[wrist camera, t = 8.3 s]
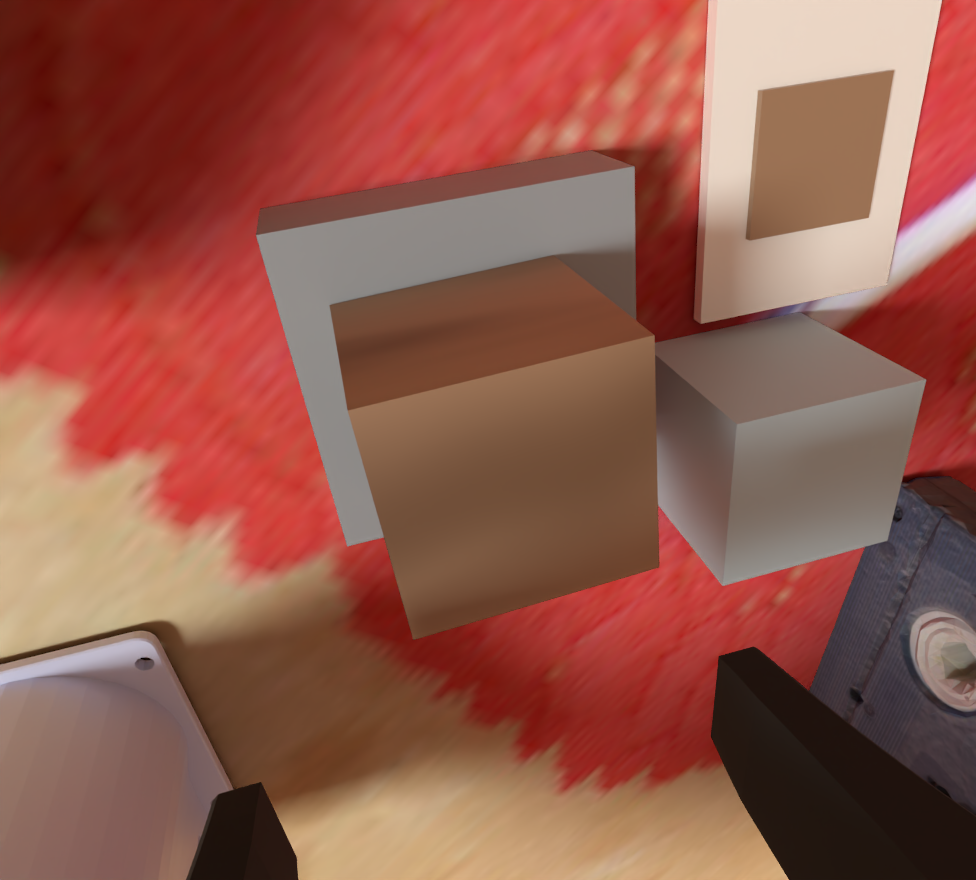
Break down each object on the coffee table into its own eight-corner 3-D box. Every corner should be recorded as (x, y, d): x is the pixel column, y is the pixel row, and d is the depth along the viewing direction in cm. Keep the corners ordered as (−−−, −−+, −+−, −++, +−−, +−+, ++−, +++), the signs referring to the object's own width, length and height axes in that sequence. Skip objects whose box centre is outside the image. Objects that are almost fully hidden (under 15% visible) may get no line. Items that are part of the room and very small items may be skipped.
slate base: (596, 422, 22) (638, 473, 19) (339, 483, 20) (347, 546, 18) (584, 147, 17) (634, 166, 15) (261, 204, 16) (256, 235, 14)
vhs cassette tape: (810, 781, 35) (976, 1015, 27) (759, 792, 34) (913, 1036, 26) (956, 467, 26) (1272, 669, 18) (890, 473, 25) (1188, 686, 17)
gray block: (780, 450, 24) (887, 540, 19) (642, 484, 23) (722, 585, 19) (798, 310, 21) (926, 379, 17) (642, 344, 20) (736, 424, 16)
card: (877, 281, 21) (892, 287, 20) (693, 319, 20) (704, 326, 20) (936, -40, 17) (956, -43, 16) (709, -11, 16) (722, -12, 15)
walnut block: (571, 444, 18) (659, 567, 14) (382, 494, 17) (413, 640, 13) (553, 254, 15) (654, 335, 11) (329, 305, 15) (347, 410, 11)
